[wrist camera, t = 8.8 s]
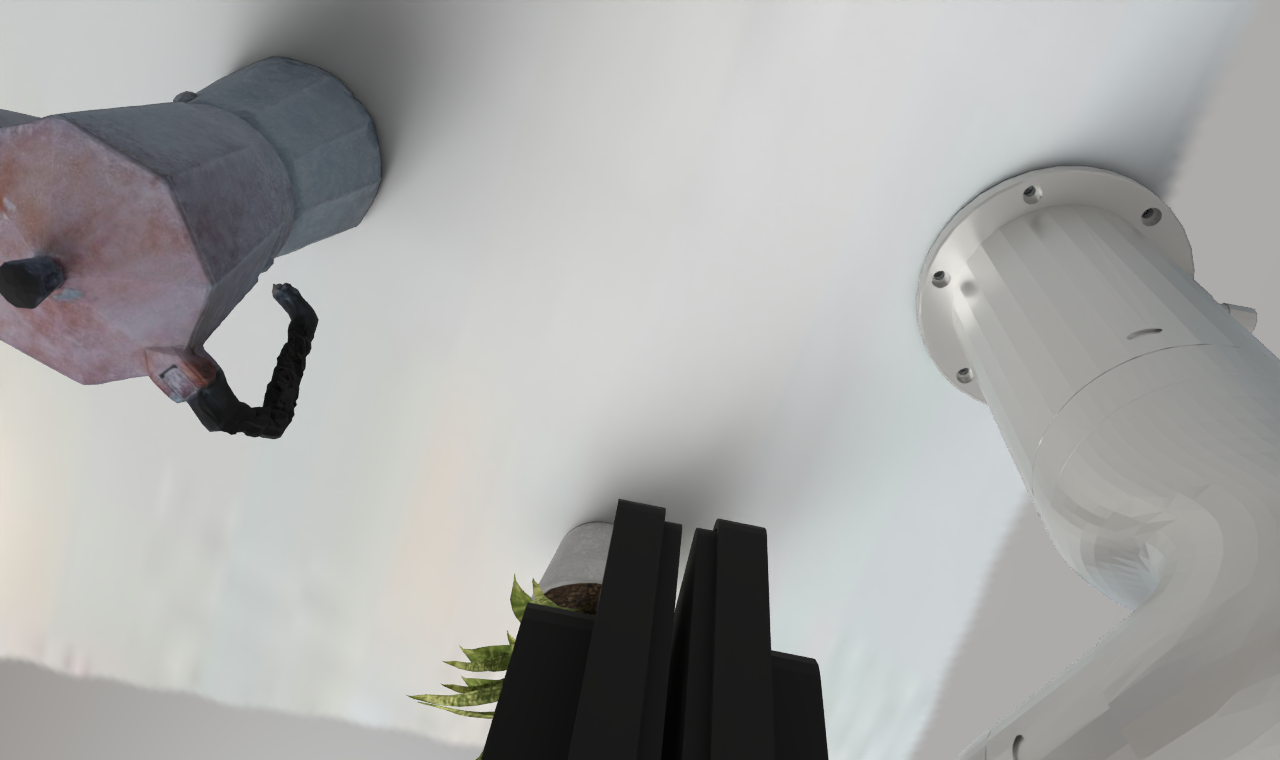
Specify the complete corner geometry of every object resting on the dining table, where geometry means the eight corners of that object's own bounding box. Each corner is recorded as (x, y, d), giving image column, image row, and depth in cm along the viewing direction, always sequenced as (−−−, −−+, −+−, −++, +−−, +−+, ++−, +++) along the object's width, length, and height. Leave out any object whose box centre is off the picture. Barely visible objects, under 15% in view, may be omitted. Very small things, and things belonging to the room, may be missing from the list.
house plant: (587, 392, 52) (531, 591, 38) (777, 532, 56) (791, 764, 41) (444, 546, 58) (349, 770, 44) (623, 665, 62) (589, 909, 47)
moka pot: (242, -47, 43) (-93, 16, 26) (482, 212, 48) (337, 415, 31) (121, 91, 47) (-246, 230, 29) (356, 320, 52) (161, 557, 34)
